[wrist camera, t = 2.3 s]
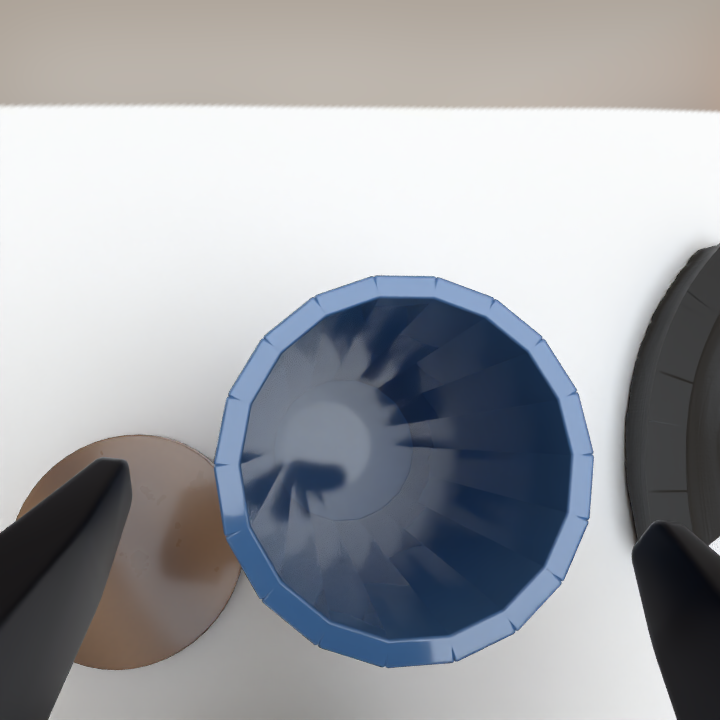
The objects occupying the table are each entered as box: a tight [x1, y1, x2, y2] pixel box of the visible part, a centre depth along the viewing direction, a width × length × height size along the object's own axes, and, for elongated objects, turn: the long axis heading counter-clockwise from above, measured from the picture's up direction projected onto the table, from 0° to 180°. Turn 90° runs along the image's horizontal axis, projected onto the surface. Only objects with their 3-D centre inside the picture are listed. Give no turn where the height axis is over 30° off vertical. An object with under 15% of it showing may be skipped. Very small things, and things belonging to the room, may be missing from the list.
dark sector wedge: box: [626, 244, 720, 546], centre depth 22 cm, size 8×14×2 cm, turn 142°
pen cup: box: [214, 275, 594, 668], centre depth 14 cm, size 6×6×12 cm
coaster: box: [16, 435, 241, 670], centre depth 19 cm, size 8×8×1 cm
